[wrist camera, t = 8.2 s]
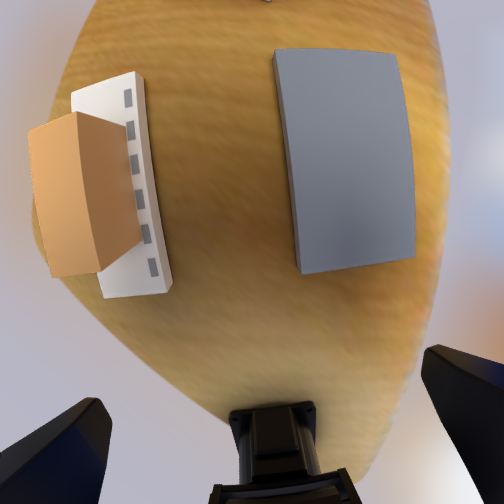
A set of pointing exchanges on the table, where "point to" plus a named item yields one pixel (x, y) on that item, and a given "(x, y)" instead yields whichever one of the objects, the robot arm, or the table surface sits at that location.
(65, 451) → the robot arm
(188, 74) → the table surface
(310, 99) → the board
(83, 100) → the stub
